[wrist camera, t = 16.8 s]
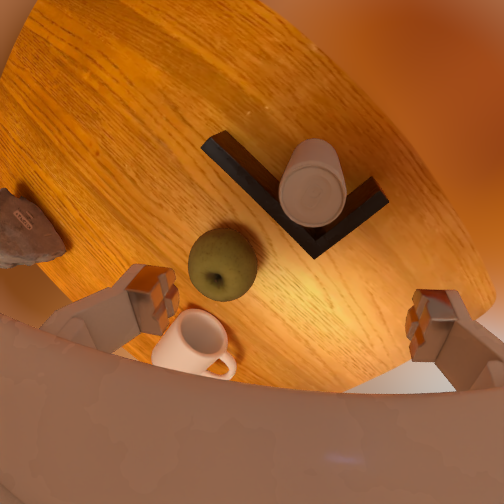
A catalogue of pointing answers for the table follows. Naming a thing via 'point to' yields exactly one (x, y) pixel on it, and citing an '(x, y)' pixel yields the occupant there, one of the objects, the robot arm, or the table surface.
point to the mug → (194, 345)
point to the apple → (222, 264)
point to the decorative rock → (25, 233)
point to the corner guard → (267, 196)
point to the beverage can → (313, 185)
